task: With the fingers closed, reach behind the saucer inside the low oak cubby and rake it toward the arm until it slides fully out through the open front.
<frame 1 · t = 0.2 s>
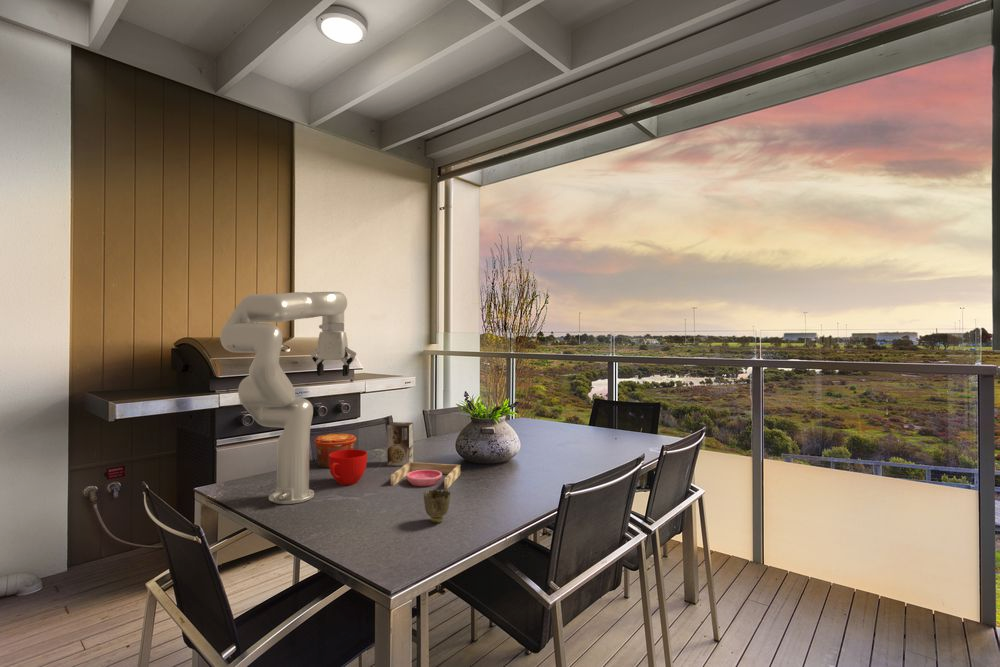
hand: (332, 375, 184), 37 cm above the table, tool pointing down, fingers open, 9 cm apart
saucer: (424, 483, 179), on the table
coffee box: (400, 464, 203), on the table
ceramic cup: (344, 484, 176), on the table
food container: (335, 464, 202), on the table
oak cubby: (426, 480, 181), on the table
cup: (436, 522, 142), on the table
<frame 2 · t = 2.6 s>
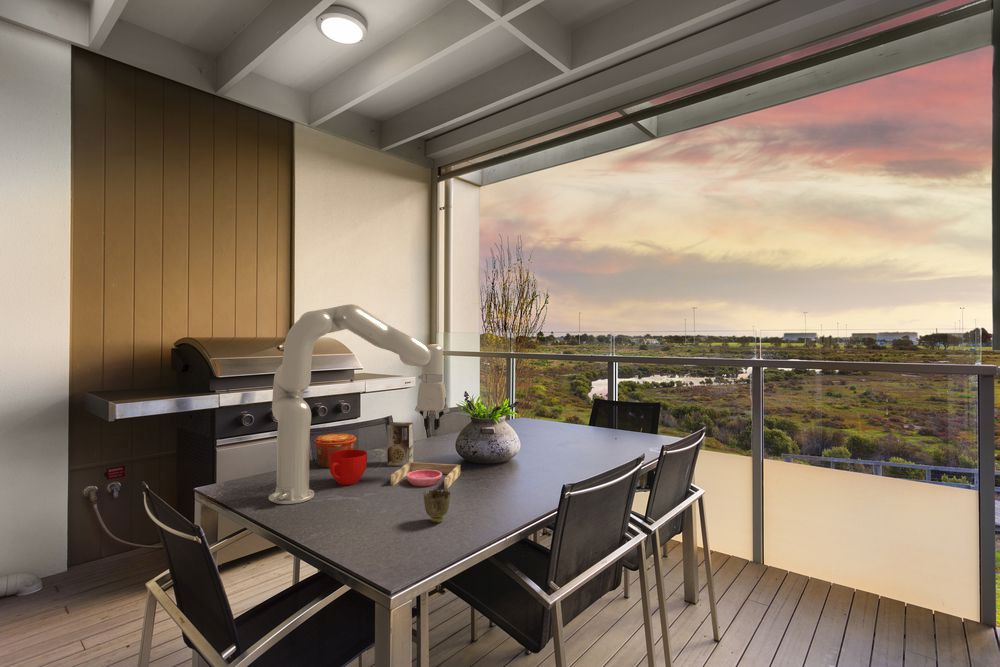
hand: (432, 428, 187), 17 cm above the table, tool pointing down, fingers closed
nothing on the table moved.
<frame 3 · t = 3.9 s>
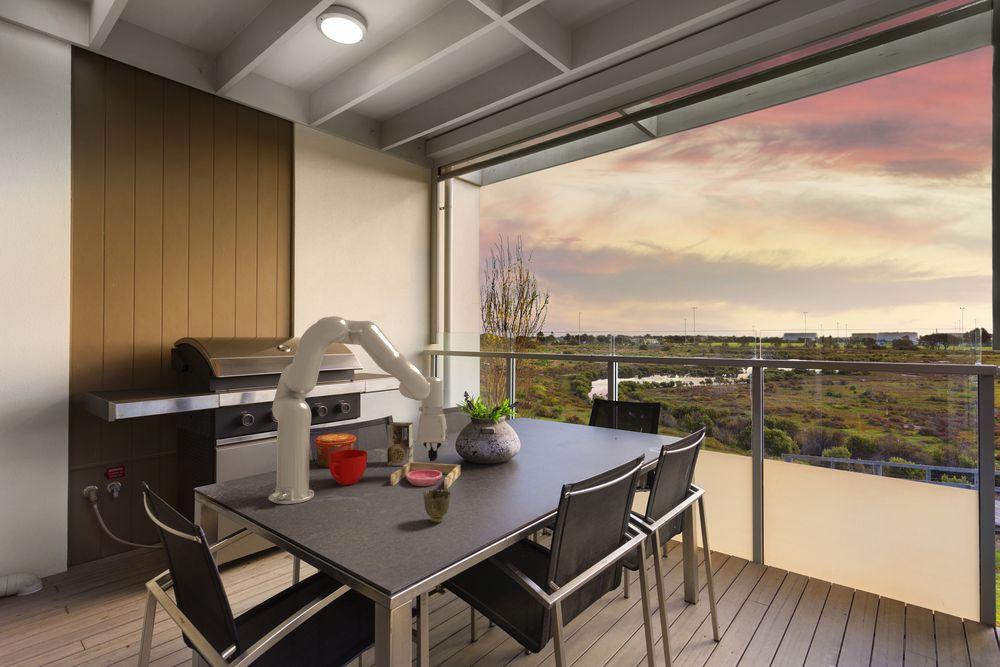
hand: (433, 460, 187), 5 cm above the table, tool pointing down, fingers closed
nothing on the table moved.
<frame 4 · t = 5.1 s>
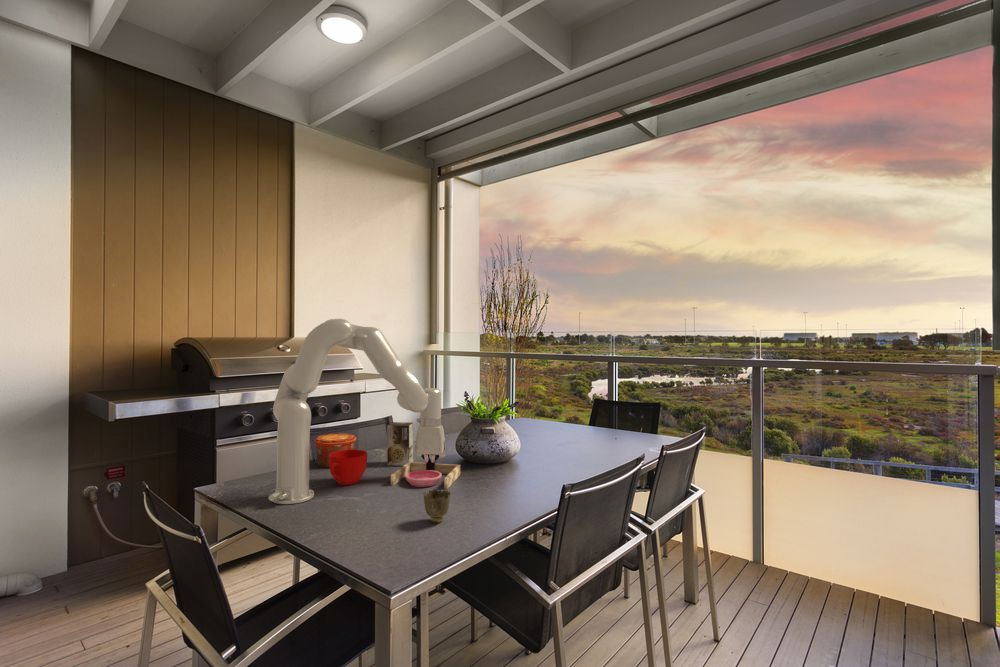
hand: (430, 472, 185), 1 cm above the table, tool pointing down, fingers closed
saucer: (423, 483, 178), on the table, touching gripper
everything else where it was.
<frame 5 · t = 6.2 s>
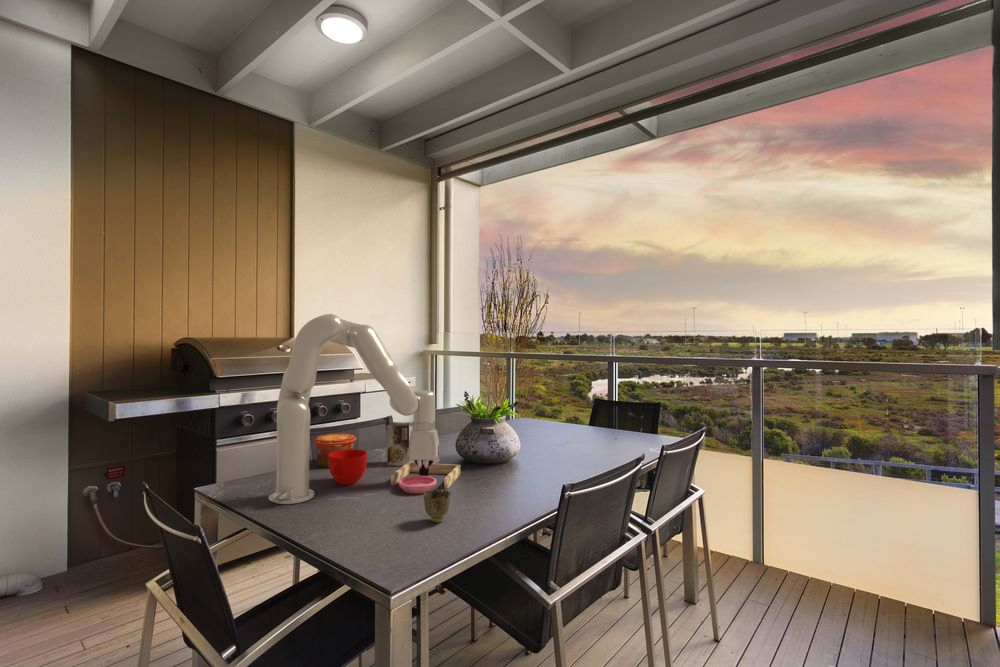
hand: (424, 478, 178), 1 cm above the table, tool pointing down, fingers closed
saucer: (417, 490, 170), on the table, touching gripper
everything else where it was.
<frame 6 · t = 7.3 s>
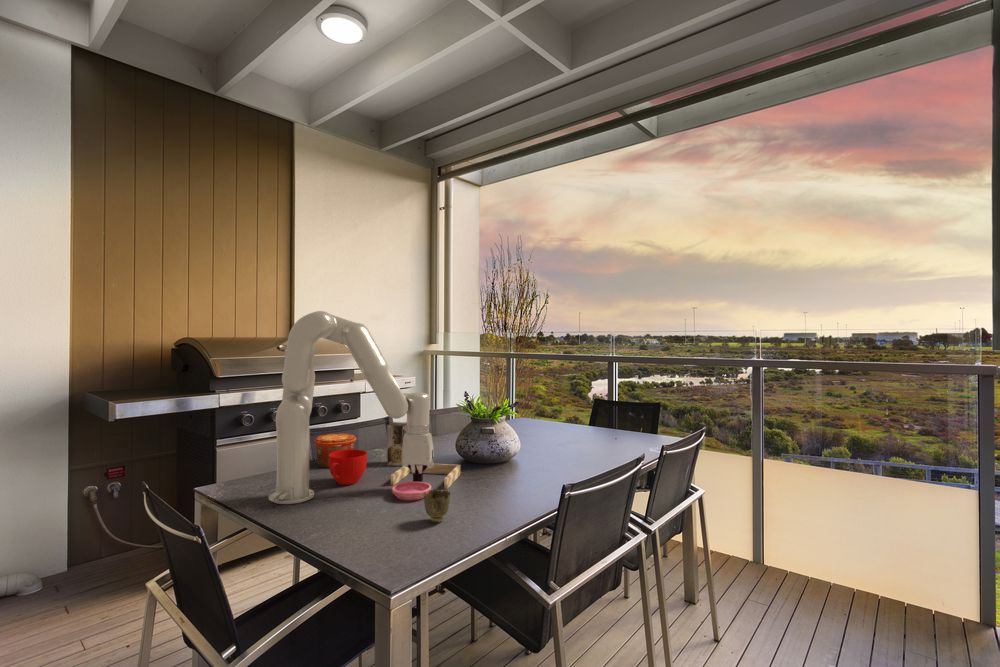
hand: (417, 484, 171), 1 cm above the table, tool pointing down, fingers closed
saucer: (411, 497, 164), on the table, touching gripper
everything else where it was.
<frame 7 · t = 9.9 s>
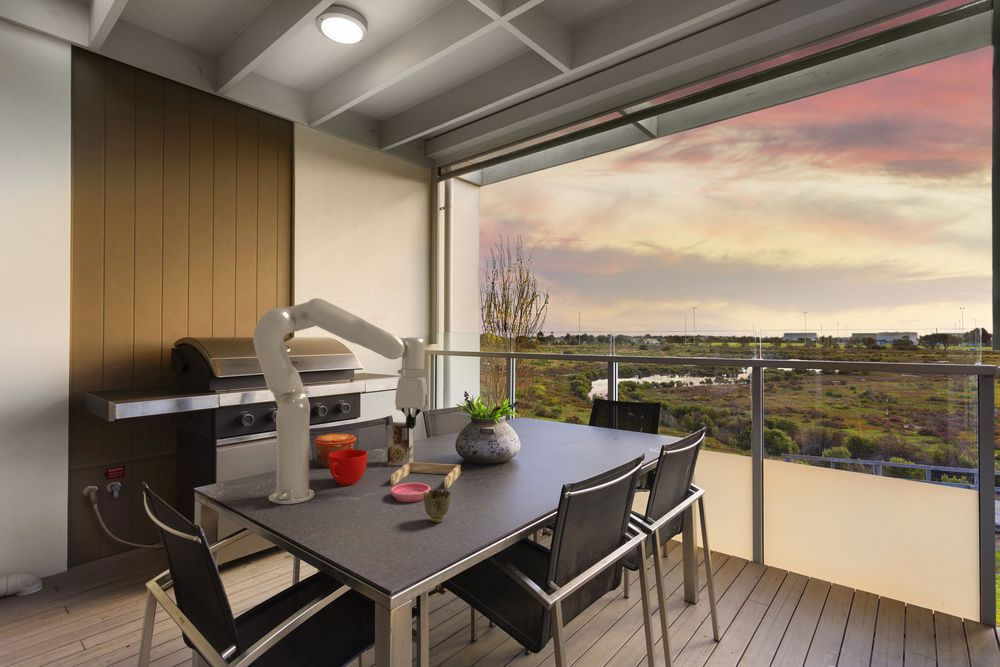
hand: (410, 428, 172), 20 cm above the table, tool pointing down, fingers closed
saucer: (410, 498, 162), on the table
everything else where it was.
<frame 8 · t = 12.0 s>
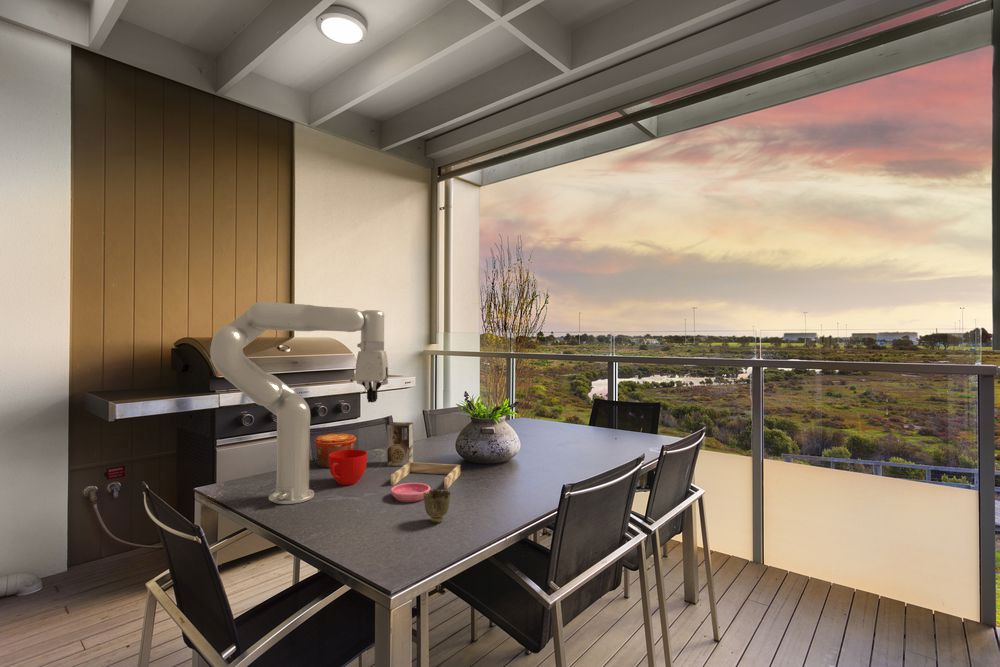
hand: (372, 401, 171), 29 cm above the table, tool pointing down, fingers closed
nothing on the table moved.
at the end: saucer inside the target area on the table beside the oak cubby (1.5 cm from its centre), on the table; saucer moved 16.3 cm from its start; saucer tilted 0° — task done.
